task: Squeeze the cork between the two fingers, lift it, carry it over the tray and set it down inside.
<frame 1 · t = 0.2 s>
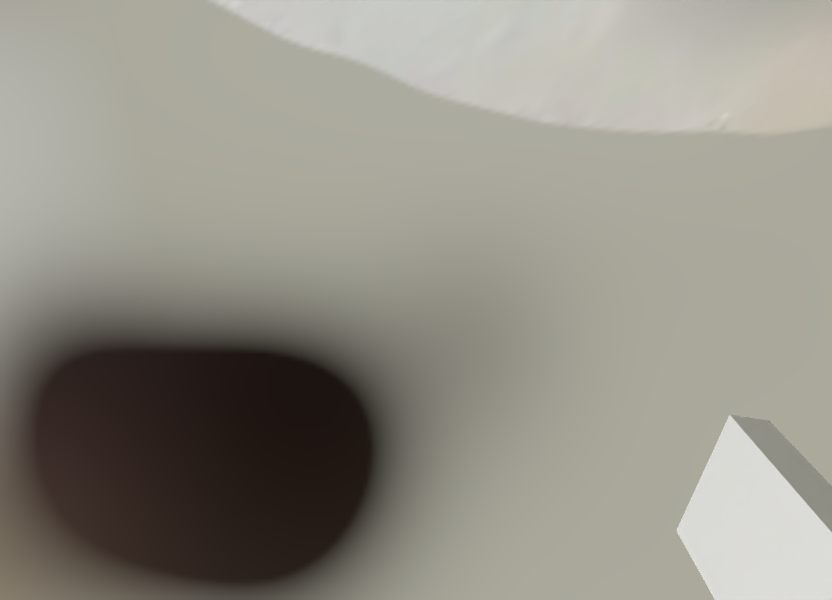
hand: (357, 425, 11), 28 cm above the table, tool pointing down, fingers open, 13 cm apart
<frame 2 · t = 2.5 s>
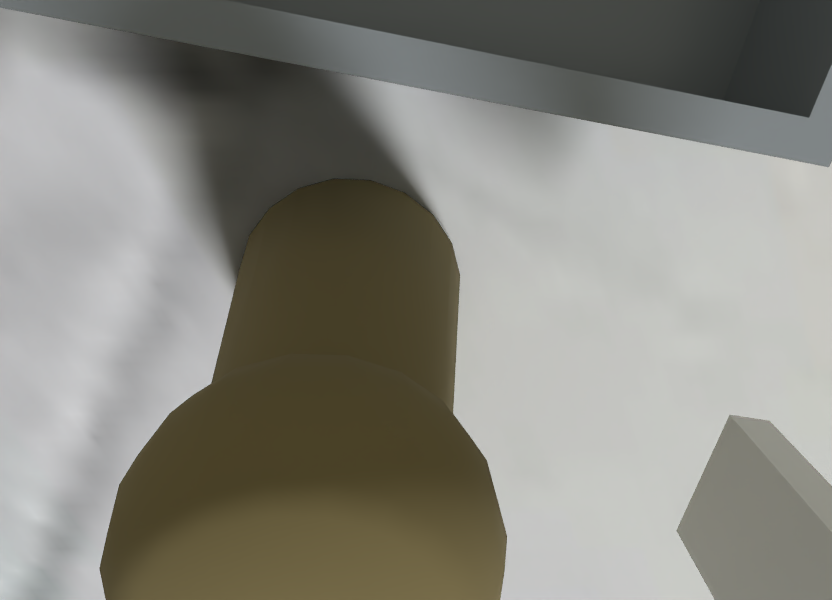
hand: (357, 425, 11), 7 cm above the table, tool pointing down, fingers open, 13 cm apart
cork: (351, 284, 17), on the table
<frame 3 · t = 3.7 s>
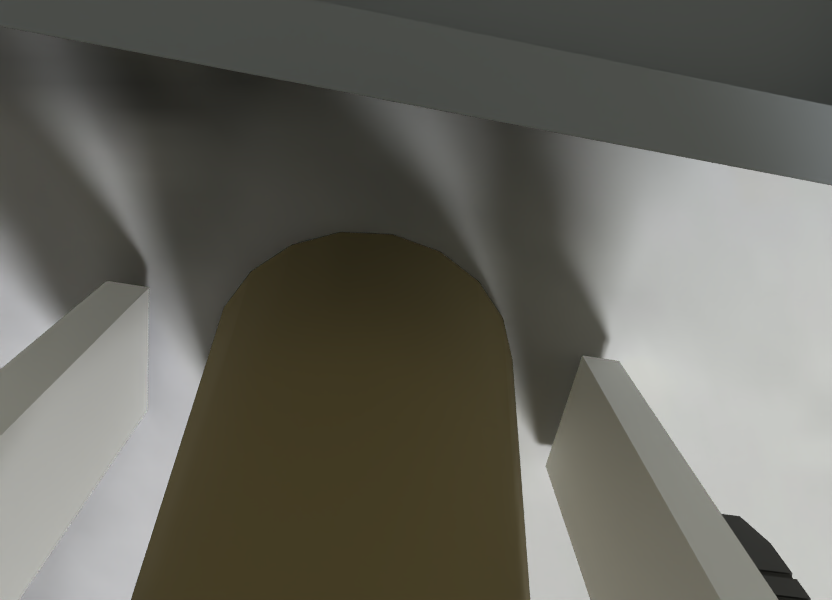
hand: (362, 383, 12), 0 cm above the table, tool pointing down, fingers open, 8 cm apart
cork: (363, 370, 12), on the table
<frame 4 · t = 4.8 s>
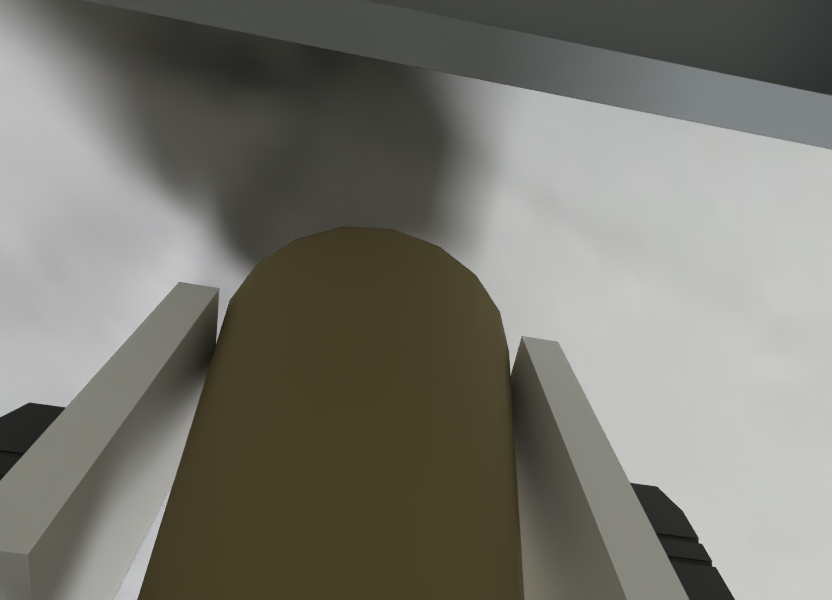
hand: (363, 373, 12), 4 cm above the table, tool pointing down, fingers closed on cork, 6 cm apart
cork: (365, 361, 13), point 3 cm above the table, touching gripper
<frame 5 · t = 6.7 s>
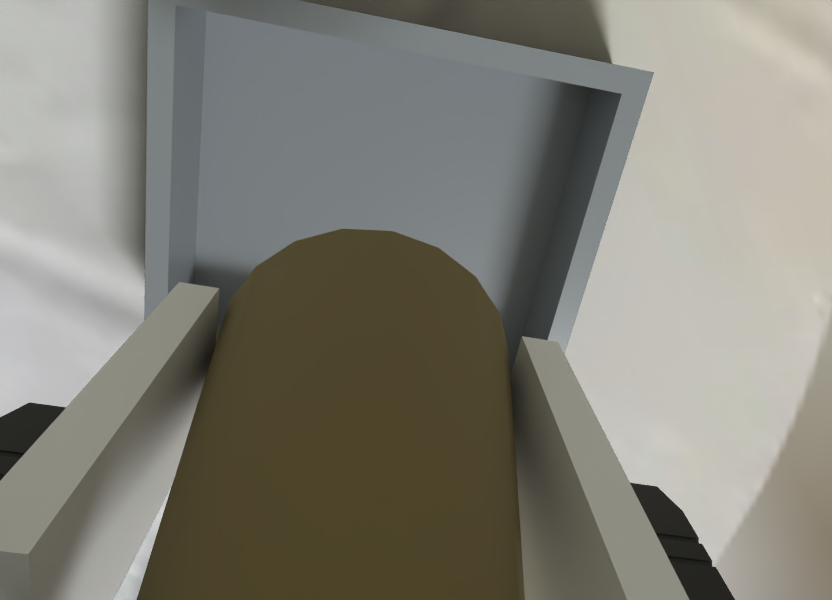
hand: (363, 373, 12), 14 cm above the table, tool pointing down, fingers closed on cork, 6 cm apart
tray: (379, 205, 25), on the table
cork: (364, 363, 13), point 13 cm above the table, touching gripper
when the fingers open (3 cm above the table, at t = 8.8 s): cork drops 2 cm, resting on tray.
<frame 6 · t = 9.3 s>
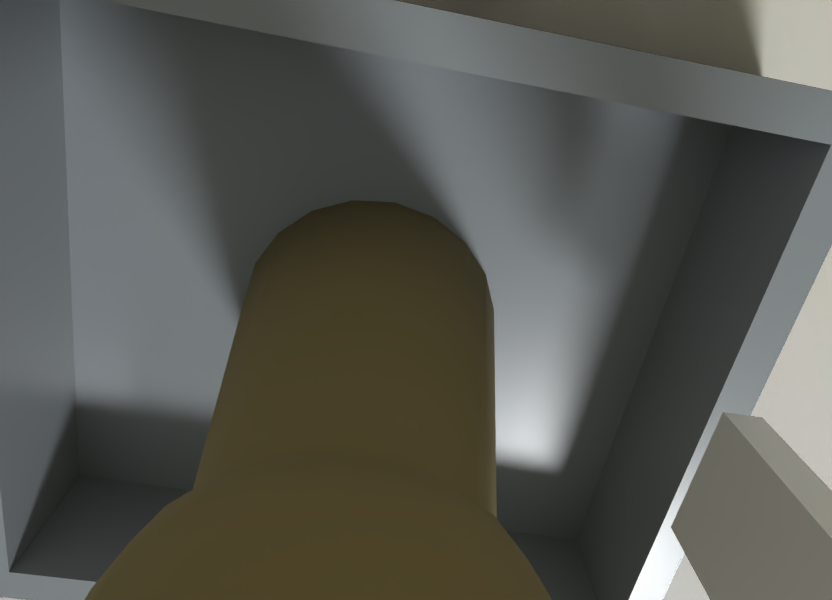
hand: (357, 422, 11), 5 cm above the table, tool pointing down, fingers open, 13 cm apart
tray: (371, 305, 15), on the table
cork: (370, 318, 15), point 1 cm above the table, touching tray
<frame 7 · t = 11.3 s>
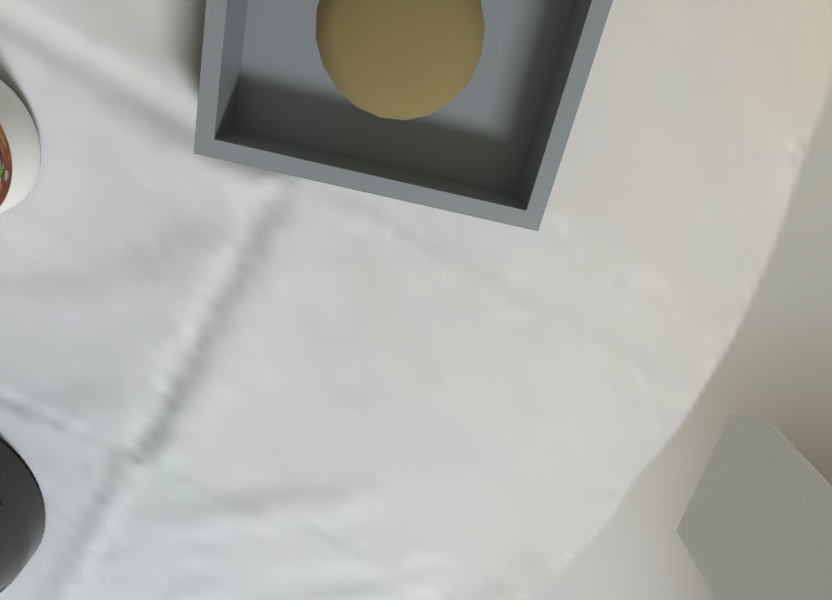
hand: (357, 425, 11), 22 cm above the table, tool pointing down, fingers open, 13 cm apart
tray: (405, 30, 28), on the table
cork: (404, 32, 28), point 1 cm above the table, touching tray
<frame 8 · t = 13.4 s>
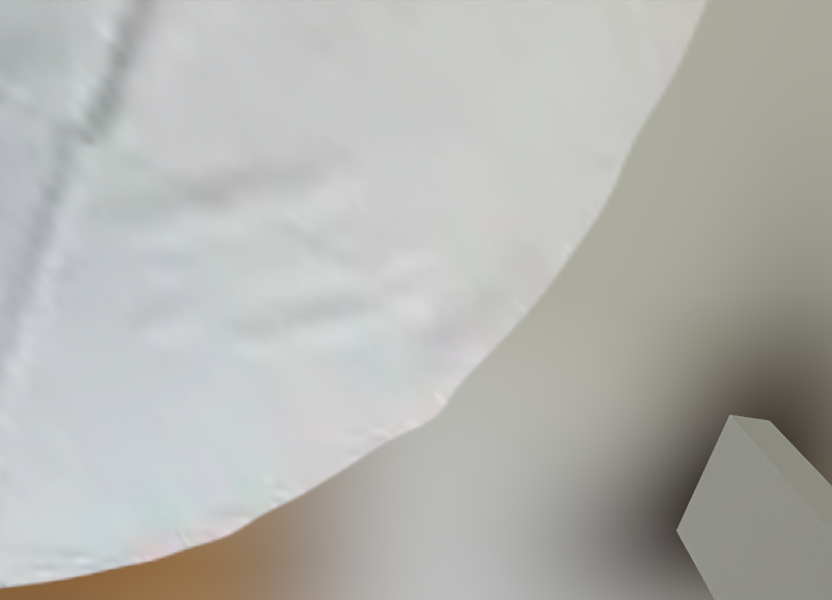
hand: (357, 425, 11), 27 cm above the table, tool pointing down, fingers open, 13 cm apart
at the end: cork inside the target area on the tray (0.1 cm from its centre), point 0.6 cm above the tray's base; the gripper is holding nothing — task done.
